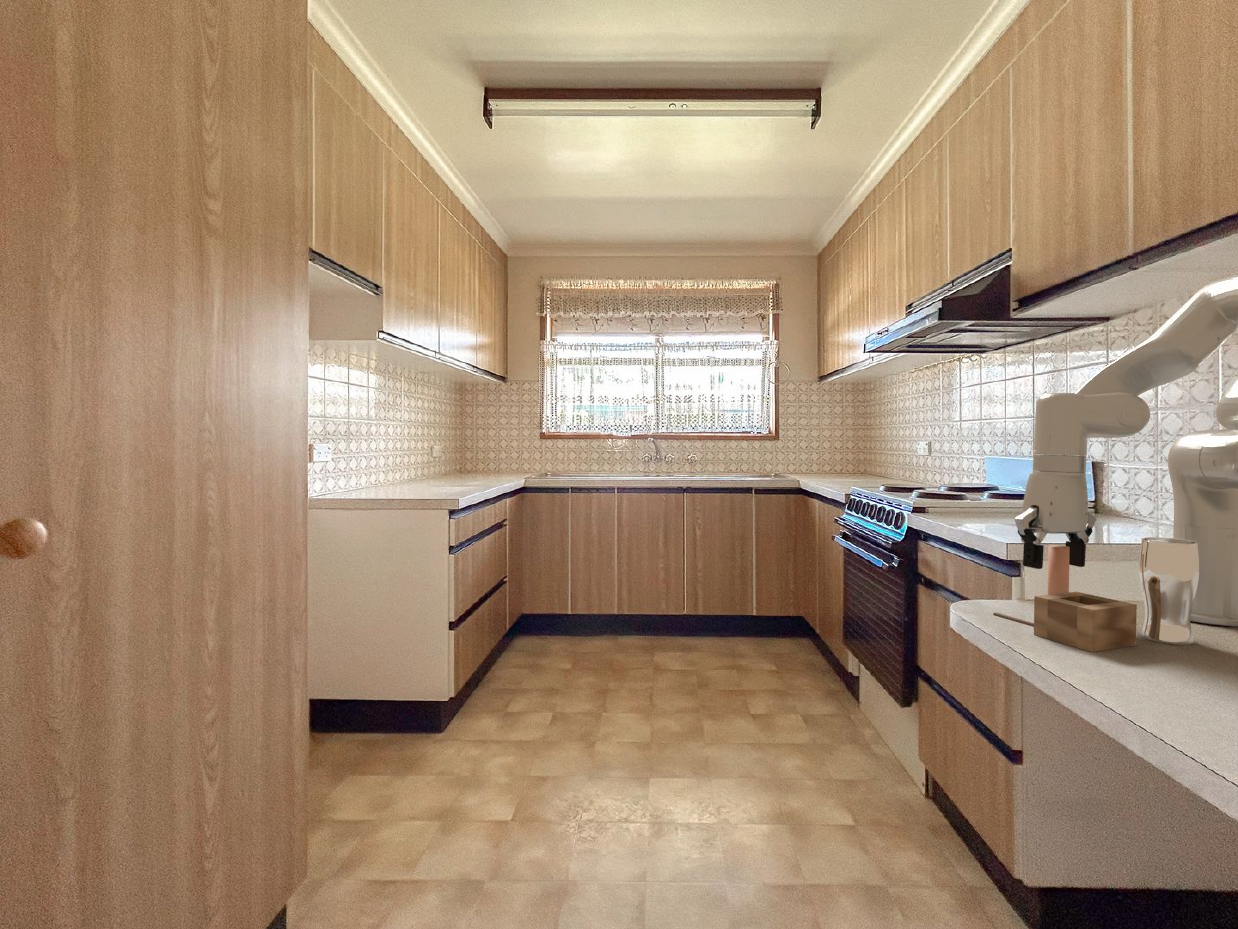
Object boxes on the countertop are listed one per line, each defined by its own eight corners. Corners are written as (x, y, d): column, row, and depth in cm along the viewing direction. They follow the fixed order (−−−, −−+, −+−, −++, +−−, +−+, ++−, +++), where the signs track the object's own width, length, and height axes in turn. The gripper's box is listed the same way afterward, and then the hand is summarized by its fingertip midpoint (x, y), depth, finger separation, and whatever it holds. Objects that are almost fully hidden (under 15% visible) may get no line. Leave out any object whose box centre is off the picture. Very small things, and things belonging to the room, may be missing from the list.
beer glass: (1209, 647, 95) (1211, 544, 95) (1154, 645, 97) (1156, 543, 96) (1178, 633, 102) (1181, 537, 102) (1127, 631, 104) (1129, 536, 103)
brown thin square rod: (996, 614, 114) (996, 612, 114) (1050, 629, 105) (1050, 628, 105) (993, 614, 114) (993, 613, 114) (1047, 630, 105) (1047, 628, 104)
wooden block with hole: (1075, 629, 105) (1076, 591, 105) (1135, 645, 97) (1136, 604, 96) (1033, 634, 102) (1034, 596, 102) (1091, 651, 94) (1092, 610, 94)
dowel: (1055, 613, 115) (1057, 544, 114) (1072, 617, 112) (1074, 547, 111) (1043, 615, 114) (1044, 545, 113) (1059, 619, 111) (1061, 548, 110)
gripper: (1074, 466, 118) (1069, 561, 119) (1001, 464, 113) (996, 564, 113) (1117, 468, 111) (1112, 569, 112) (1041, 466, 106) (1036, 572, 106)
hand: (1053, 566), depth 112 cm, fingers open, 9 cm apart
